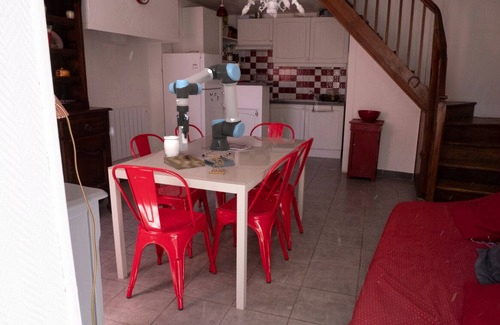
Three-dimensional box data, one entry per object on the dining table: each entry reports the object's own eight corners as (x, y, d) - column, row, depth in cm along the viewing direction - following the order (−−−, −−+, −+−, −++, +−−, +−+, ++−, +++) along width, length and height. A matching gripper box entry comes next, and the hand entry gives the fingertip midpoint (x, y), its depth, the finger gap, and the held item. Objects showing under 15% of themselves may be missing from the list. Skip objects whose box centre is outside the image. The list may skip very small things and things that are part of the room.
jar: (164, 160, 252) (163, 138, 249) (164, 156, 262) (163, 135, 259) (180, 159, 254) (179, 137, 251) (180, 156, 264) (179, 135, 261)
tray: (189, 159, 256) (188, 154, 255) (204, 166, 238) (204, 160, 237) (163, 162, 245) (163, 157, 245) (178, 169, 228) (178, 164, 227)
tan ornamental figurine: (225, 173, 223) (225, 153, 220) (223, 174, 219) (223, 154, 216) (211, 171, 225) (211, 152, 222) (208, 173, 221) (208, 153, 218)
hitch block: (222, 161, 253) (222, 156, 252) (234, 165, 241) (234, 160, 241) (204, 163, 245) (204, 159, 244) (215, 168, 234) (215, 163, 233)
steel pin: (185, 148, 243) (184, 125, 240) (188, 150, 239) (188, 126, 236) (178, 149, 240) (177, 126, 237) (181, 150, 236) (181, 127, 233)
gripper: (171, 104, 238) (172, 141, 243) (183, 106, 224) (183, 145, 230) (182, 104, 242) (182, 140, 247) (194, 106, 229) (194, 144, 234)
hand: (183, 142), depth 239 cm, fingers closed on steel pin, 4 cm apart
